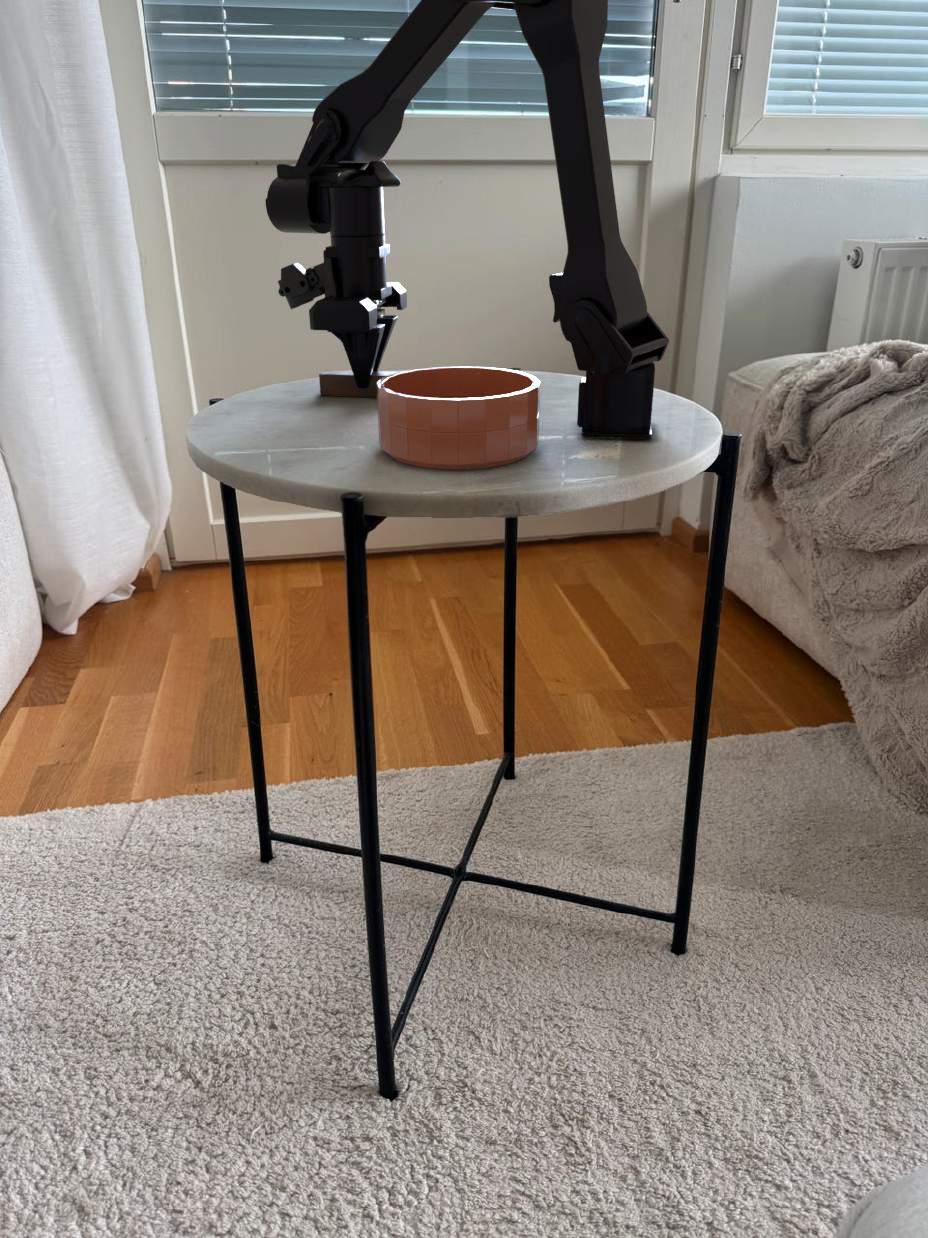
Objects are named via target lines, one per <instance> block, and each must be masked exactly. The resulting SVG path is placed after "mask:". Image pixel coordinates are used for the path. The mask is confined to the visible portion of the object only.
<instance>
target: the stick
mask: <svg viewBox="0 0 928 1238" xmlns="http://www.w3.org/2000/svg"><path fill="white" fill-rule="evenodd" d="M398 372H399V371H382V370H381V371H379V370H378V371H373V372H372V375H371V378H370V382H369V385H368V387H367V388H358V387H357V384H356V381H355V378H354V375H353V372H352V370H340V369H339V370H338V369H337V370H335V369H334V370H333V369H331V370H330V369H325V370H324V371H322V372H321V373H319V374H318V378H319V390H320V391H319V392H320V396H321V397H322V396H323V397H354V398H355V397H357V398H377V389H376V383H377V382H378V381H379V380H380V379H381V378H383V377H385V376H388V375H391V374H394V373H398Z"/></svg>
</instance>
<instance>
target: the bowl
mask: <svg viewBox="0 0 928 1238" xmlns="http://www.w3.org/2000/svg"><path fill="white" fill-rule="evenodd" d="M397 372H398V373H394V374H391V375H388V376H385V377H383V378H381V379H380V380H379V381H378V382H377V383H376V389H377V397H376V404H377V406H376V407H377V409H376V410H377V427H378V444H379V447H380V450H382V451H383V452H385V453H386V454H387V455H388V456H390V457H391V458H392V459H394V460H396V461H397V462H400V463H403V464H406V465H409V466H414V467H420V468H426V469H436V470H457V471H459V470H478V469H487V468H494V467H500V466H504V465H508V464H511V463H515V462H518V461H520V460H522V459H524V458H526V457H527V456H528V455H529V454H530V453H532V452H533V451H535V450H536V449H537V448H538V445H539V441H540V411H541V410H540V409H541V407H540V406H541V380H540V379H538V378H537V377H536V376H534V375H532V374H529V373H526V372H523V371H519V370H513V369H507V368H499V367H488V366H465V365H462V366H461V365H460V366H459V365H456V366H455V365H454V366H433V367H423V368H414V369H408V370H402V371H397Z"/></svg>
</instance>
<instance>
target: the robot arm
mask: <svg viewBox="0 0 928 1238" xmlns="http://www.w3.org/2000/svg"><path fill="white" fill-rule="evenodd" d="M608 8H609V0H419V2H418V3H417V4H416V6H415V7H414V8H413V9H412V11H411V12H410V13H409V14H408V15H407V17H406V18H405V19H404V21H403V22H402V23H401V25H400V26H399V27H398V29H397V30H396V31H395V32H394V34H393V35H392V37H391V38H390V39H389V40H388V42H387V43H386V44H385V46H384V47H383V48H381V50H380V52H379V53H378V55H377V56H376V57H375V58H374V59H373V61H372V62H371V63H370V64H369V65H368V67H367V68H365V69H364V70H363V71H362V72H361V73H359V74H356V75H355V76H353V77H351V78H349V79H347V80H345V81H343V82H342V83H340V84H338V85H337V86H336V87H335V88H334V89H333V90H331V92H329V93H328V95H327V94H326V96H325V97H324V98H323V99H321V100H320V101H319V102H318V104H317V105H316V107H315V108H314V111H313V114H312V117H311V121H312V125H311V127H310V130H309V133H308V134H307V137H306V140H305V141H304V144H303V147H302V149H301V152H300V153H299V156H298V158H297V161H296V163H279V164H278V163H277V165H276V177H275V178H274V179H273V180H272V181H271V182H270V185H269V187H268V190H267V194H266V196H267V197H266V198H265V199H264V200H265V209H266V214H267V216H268V219H269V222H271V224H272V226H273V227H274V228H275V229H276V230H278V231H279V232H282V233H286V234H287V233H289V234H290V233H291V234H315V235H316V234H319V235H326V234H328V233H329V235H330V237H329V238H330V245H328V246H325V249H323V254H322V256H323V262H321V263H319V264H317V265H314V266H311V267H308V268H306V269H305V267H303V265H302V264H300V263H299V262H295V263H291V264H289V265H286V266H284V267H282V268H281V269H280V279H279V280H277V283H278V286H279V288H278V295H279V296H280V297H285V299H286V301H287V303H288V306H289V308H290V310H294V309H296V308H299V307H302V306H303V305H306V304H308V303H311V302H313V301H314V299H316V298H318V297H322V296H324V297H323V298H321V299H318V300H316V301H315V303H314V304H313V305H312V306H311V307H310V308H309V310H308V317H309V330H312V331H327V332H328V333H331V334H332V335H333V336H334V337H336V338H337V339H338V340H339V341H340V342H341V343H342V346H343V348H344V352H345V354H346V357H347V360H348V362H349V366H350V369H351V371H352V372H353V375H354V378H355V381H356V384H357V387H358V388H367V387H368V385H369V382H370V378H371V375H372V372H373V371H379V369H380V366H381V363H382V361H383V358H384V354H385V352H386V349H387V346H388V344H389V341H390V338H391V336H392V333H393V330H394V327H395V325H396V322H397V321H398V319H399V316H398V315H394V314H393V315H392V314H386V309H385V308H396V310H397V311H404V310H405V309H406V308H407V307H408V300H407V298H408V297H407V289H406V288H405V287H403V285H401V283H400V282H399V281H388V279H387V278H388V273H387V256H389V255H391V244H390V243H386V229H385V207H384V188H396V187H397V188H398V187H400V186H401V184H402V183H401V182H402V181H401V180H400V178H399V176H397V175H396V174H395V173H394V172H393V171H391V169H390V168H389V166H388V165H387V164H386V162H385V161H383V160H382V159H383V158H384V157H385V156H386V155H387V154H388V152H389V150H390V149H391V147H392V145H393V144H394V142H395V140H396V138H397V137H398V136H399V134H400V132H401V131H402V127H403V122H404V117H405V112H406V110H407V108H408V106H409V105H410V103H411V102H412V100H413V99H414V97H415V96H416V95H417V94H418V93H419V92H420V91H421V90H422V88H423V87H424V86H425V85H426V83H428V81H429V80H430V79H431V77H433V75H434V74H435V73H436V72H437V70H438V69H440V67H441V66H442V65H443V64H444V62H445V61H446V60H447V59H448V58H449V56H450V55H451V54H452V53H453V52H454V50H455V49H456V48H457V47H458V46H459V45H460V43H461V42H462V41H463V40H464V39H465V38H466V36H467V35H468V34H469V33H470V32H471V30H472V29H473V28H474V26H476V25H477V23H478V22H479V21H480V19H482V18H483V16H484V15H485V14H486V12H487V11H489V10H490V9H499V10H500V9H501V10H509V11H515V14H516V18H517V20H518V24H519V28H520V30H521V35H522V37H523V39H524V41H525V42H526V44H527V46H528V48H529V50H530V52H531V53H532V56H533V57H534V59H535V61H536V63H537V65H538V67H539V69H540V71H541V73H542V77H543V82H544V83H543V84H544V89H545V91H544V92H545V98H546V104H547V111H548V117H549V118H548V119H549V125H550V131H551V139H552V147H553V152H554V160H555V167H556V174H557V181H558V188H559V195H560V203H561V208H562V217H563V222H564V223H563V224H564V230H565V237H566V238H565V239H566V244H567V254H566V258H565V262H564V265H563V269H562V272H560V273H559V272H558V273H553V274H550V275H549V277H548V285H549V289H550V292H551V293H550V294H551V296H552V299H553V306H554V311H553V312H554V313H553V318H552V322H553V323H554V324H555V323H559V324H560V326H559V327H560V330H561V333H562V335H563V337H564V339H565V340H566V341H567V342H569V343H570V344H571V349H572V353H573V356H574V360H575V363H576V366H577V370H578V371H581V372H585V377H581V378H580V379H579V382H578V395H577V396H578V399H577V400H578V401H577V402H578V403H577V417H576V419H577V420H576V425H577V427H578V428H581V430H580V431H581V433H580V436H581V437H583V438H592V439H593V438H599V439H624V440H625V439H627V440H651V439H652V438H653V430H652V414H653V402H654V389H655V377H656V364H655V362H660V361H662V360H663V358H664V355H665V352H666V351H667V348H668V347H669V344H670V339H669V337H668V336H667V335H666V333H665V332H664V331H663V330H662V328H661V327H660V326H659V324H658V323H657V322H656V321H655V319H654V318H653V317H652V316H651V314H650V313H649V312H648V304H647V300H646V296H645V292H644V289H643V286H642V283H641V279H640V275H639V272H638V269H637V267H636V265H635V263H634V262H633V260H632V258H631V256H630V255H629V253H628V251H627V248H626V247H625V245H624V243H623V241H622V238H621V234H620V233H621V232H620V225H619V217H618V210H617V201H616V194H615V185H614V177H613V170H612V161H611V154H610V146H609V138H608V130H607V129H608V128H607V122H606V113H605V107H604V106H605V105H604V98H603V90H602V82H601V74H600V58H601V54H602V49H603V44H604V41H605V36H606V33H607V28H608V18H609V17H608V13H609V11H608V10H609V9H608Z"/></svg>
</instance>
